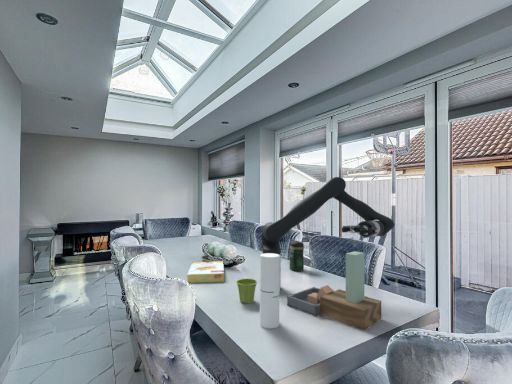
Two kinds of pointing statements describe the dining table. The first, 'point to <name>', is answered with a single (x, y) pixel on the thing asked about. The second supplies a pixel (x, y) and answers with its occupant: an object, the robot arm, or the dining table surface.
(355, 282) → the tall sage green panel
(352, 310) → the bench
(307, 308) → the tray
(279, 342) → the dining table surface
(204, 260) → the cake pan
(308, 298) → the tile
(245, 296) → the plant pot
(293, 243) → the coffee jar
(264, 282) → the cylindrical container
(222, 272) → the cereal box
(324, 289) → the tile
